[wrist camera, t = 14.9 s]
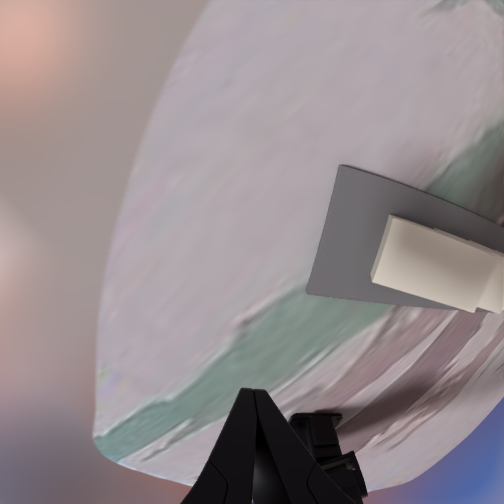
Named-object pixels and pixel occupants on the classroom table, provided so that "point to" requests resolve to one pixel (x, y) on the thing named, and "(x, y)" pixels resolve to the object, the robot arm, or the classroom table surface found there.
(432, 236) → the domino
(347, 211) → the mat
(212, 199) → the classroom table surface
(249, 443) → the robot arm
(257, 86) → the classroom table surface
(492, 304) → the domino
